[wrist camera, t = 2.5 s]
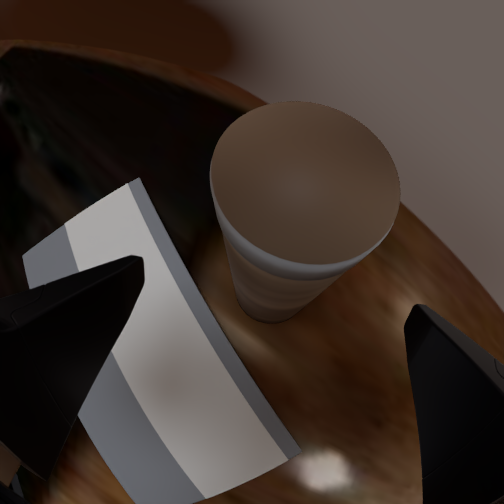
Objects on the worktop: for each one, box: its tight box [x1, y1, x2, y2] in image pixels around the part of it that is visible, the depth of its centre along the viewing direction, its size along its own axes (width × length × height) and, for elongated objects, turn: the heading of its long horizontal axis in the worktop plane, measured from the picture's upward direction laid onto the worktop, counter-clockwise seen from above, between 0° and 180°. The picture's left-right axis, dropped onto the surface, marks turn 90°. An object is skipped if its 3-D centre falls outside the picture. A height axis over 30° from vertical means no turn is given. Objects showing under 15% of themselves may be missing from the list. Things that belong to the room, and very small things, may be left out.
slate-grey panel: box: [23, 178, 302, 504], centre depth 17 cm, size 22×12×1 cm, turn 32°
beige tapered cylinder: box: [210, 101, 400, 324], centre depth 13 cm, size 5×5×13 cm
